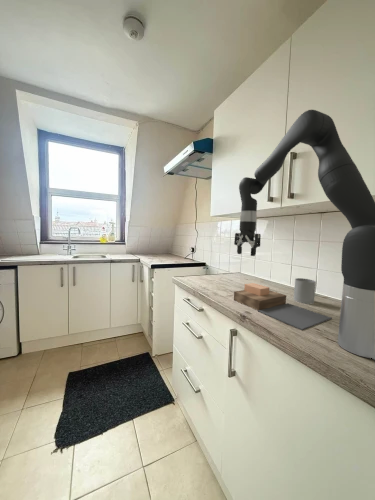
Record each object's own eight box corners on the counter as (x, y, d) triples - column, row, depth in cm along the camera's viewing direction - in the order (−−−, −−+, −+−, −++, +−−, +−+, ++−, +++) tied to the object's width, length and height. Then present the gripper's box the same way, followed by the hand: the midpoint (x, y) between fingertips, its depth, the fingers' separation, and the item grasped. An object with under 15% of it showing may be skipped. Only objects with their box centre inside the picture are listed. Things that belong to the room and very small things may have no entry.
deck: (285, 304, 88) (286, 295, 88) (258, 310, 79) (259, 300, 79) (259, 295, 100) (260, 287, 100) (233, 300, 91) (234, 291, 91)
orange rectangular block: (268, 294, 89) (269, 287, 89) (260, 295, 86) (260, 289, 86) (252, 289, 97) (253, 283, 96) (244, 290, 93) (244, 284, 93)
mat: (331, 318, 74) (331, 317, 74) (301, 330, 64) (301, 329, 64) (287, 304, 89) (287, 303, 89) (257, 311, 78) (257, 310, 78)
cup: (318, 304, 91) (320, 282, 90) (302, 304, 89) (304, 282, 88) (304, 298, 99) (306, 278, 98) (289, 298, 98) (291, 278, 97)
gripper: (265, 221, 91) (263, 256, 92) (242, 222, 103) (240, 253, 104) (254, 220, 87) (252, 256, 88) (231, 221, 99) (229, 253, 100)
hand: (245, 254), depth 96 cm, fingers open, 8 cm apart
